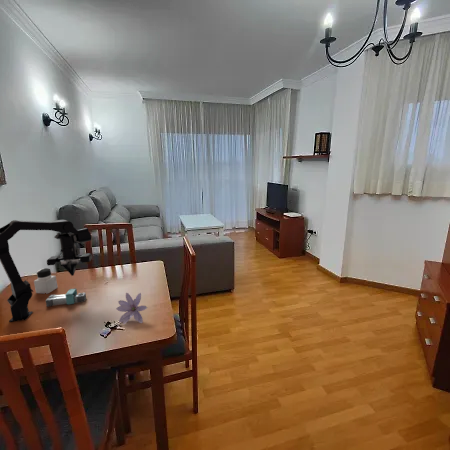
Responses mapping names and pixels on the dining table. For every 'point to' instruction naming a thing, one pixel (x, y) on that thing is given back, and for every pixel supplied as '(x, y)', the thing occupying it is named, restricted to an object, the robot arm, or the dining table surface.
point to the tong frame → (62, 300)
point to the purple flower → (131, 309)
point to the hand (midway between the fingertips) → (72, 275)
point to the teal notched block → (70, 296)
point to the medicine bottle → (45, 281)
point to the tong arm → (58, 296)
